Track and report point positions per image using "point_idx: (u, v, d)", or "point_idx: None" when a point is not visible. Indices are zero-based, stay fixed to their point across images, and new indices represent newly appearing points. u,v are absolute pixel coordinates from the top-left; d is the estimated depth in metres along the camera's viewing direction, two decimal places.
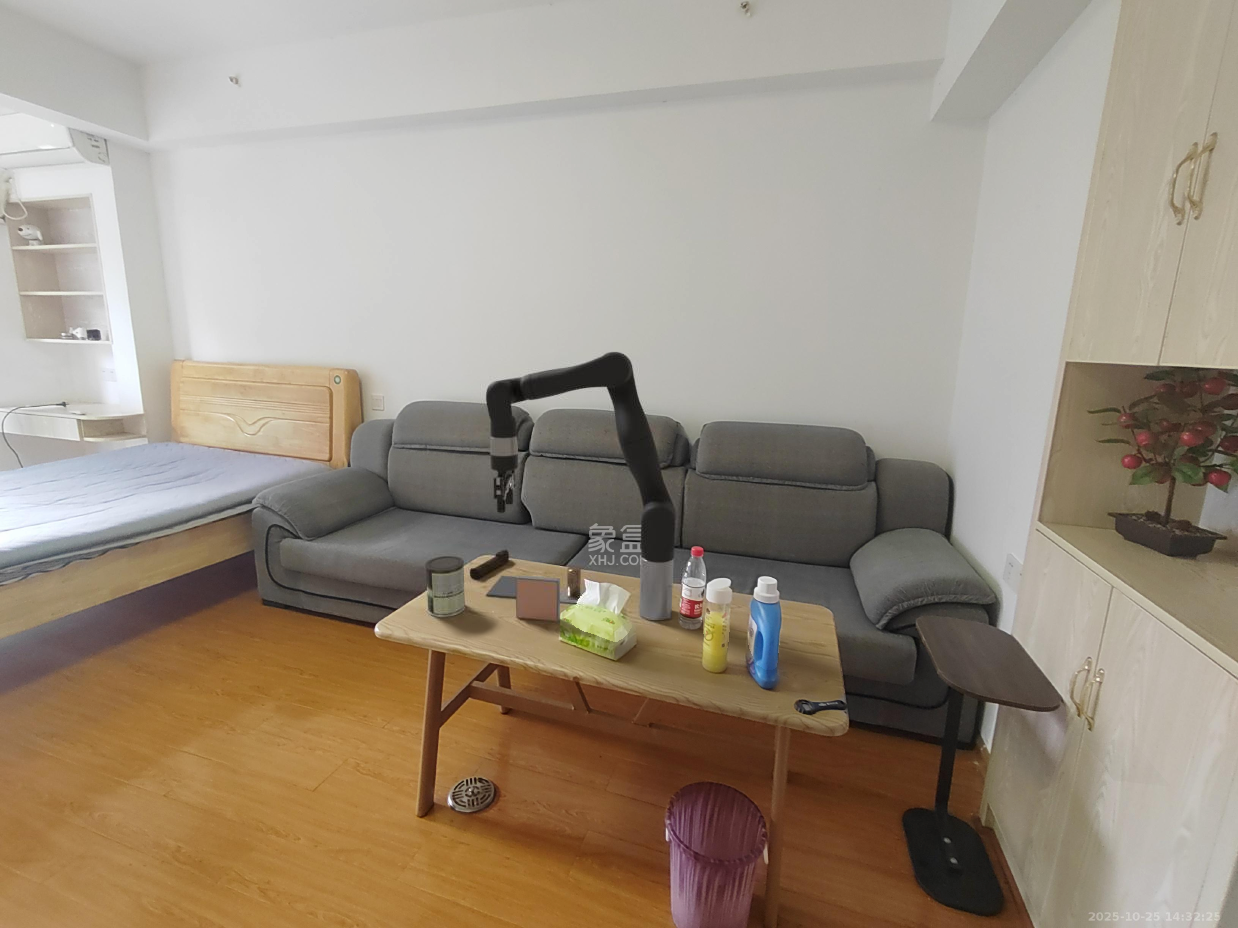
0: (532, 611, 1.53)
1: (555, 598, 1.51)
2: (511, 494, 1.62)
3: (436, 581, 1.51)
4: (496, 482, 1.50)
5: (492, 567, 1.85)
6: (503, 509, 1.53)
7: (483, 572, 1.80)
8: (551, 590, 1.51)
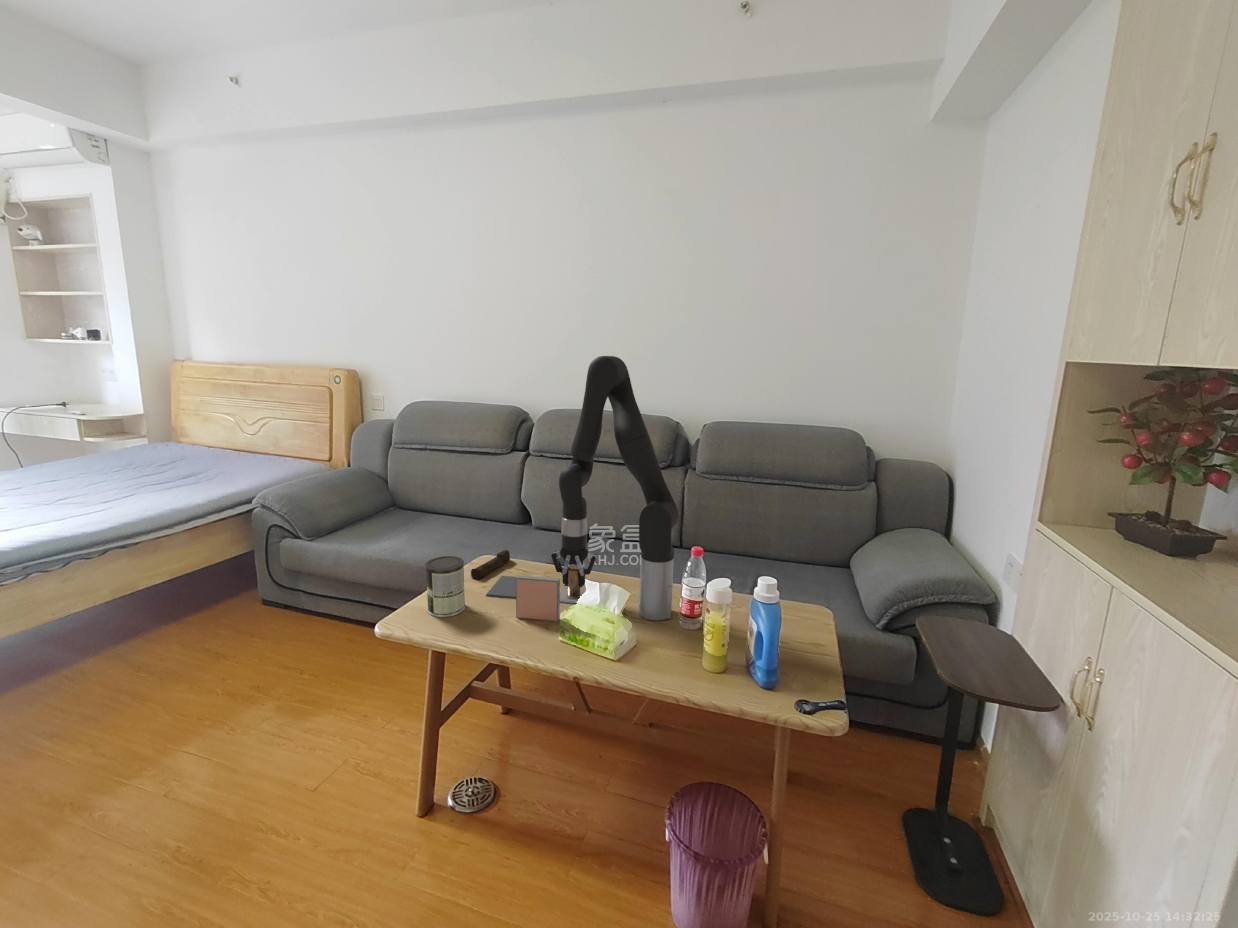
0: (532, 611, 1.53)
1: (555, 598, 1.51)
2: None
3: (436, 581, 1.51)
4: None
5: (493, 567, 1.85)
6: None
7: (484, 572, 1.80)
8: (551, 590, 1.51)
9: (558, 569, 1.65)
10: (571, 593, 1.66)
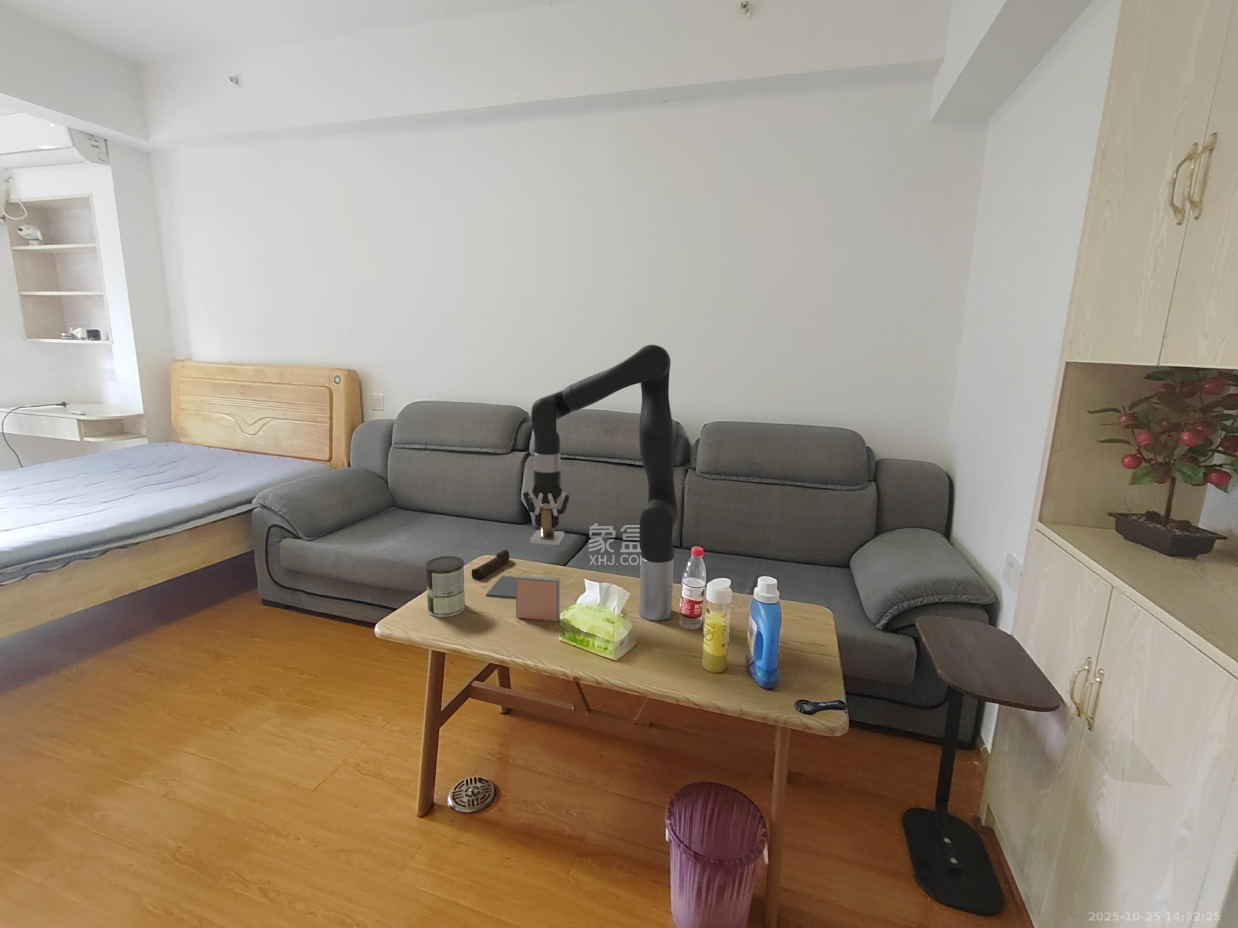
0: (532, 611, 1.53)
1: (555, 598, 1.51)
2: None
3: (436, 581, 1.51)
4: (569, 499, 1.56)
5: (493, 567, 1.85)
6: None
7: (485, 572, 1.80)
8: (551, 590, 1.51)
9: (530, 509, 1.57)
10: (544, 534, 1.58)
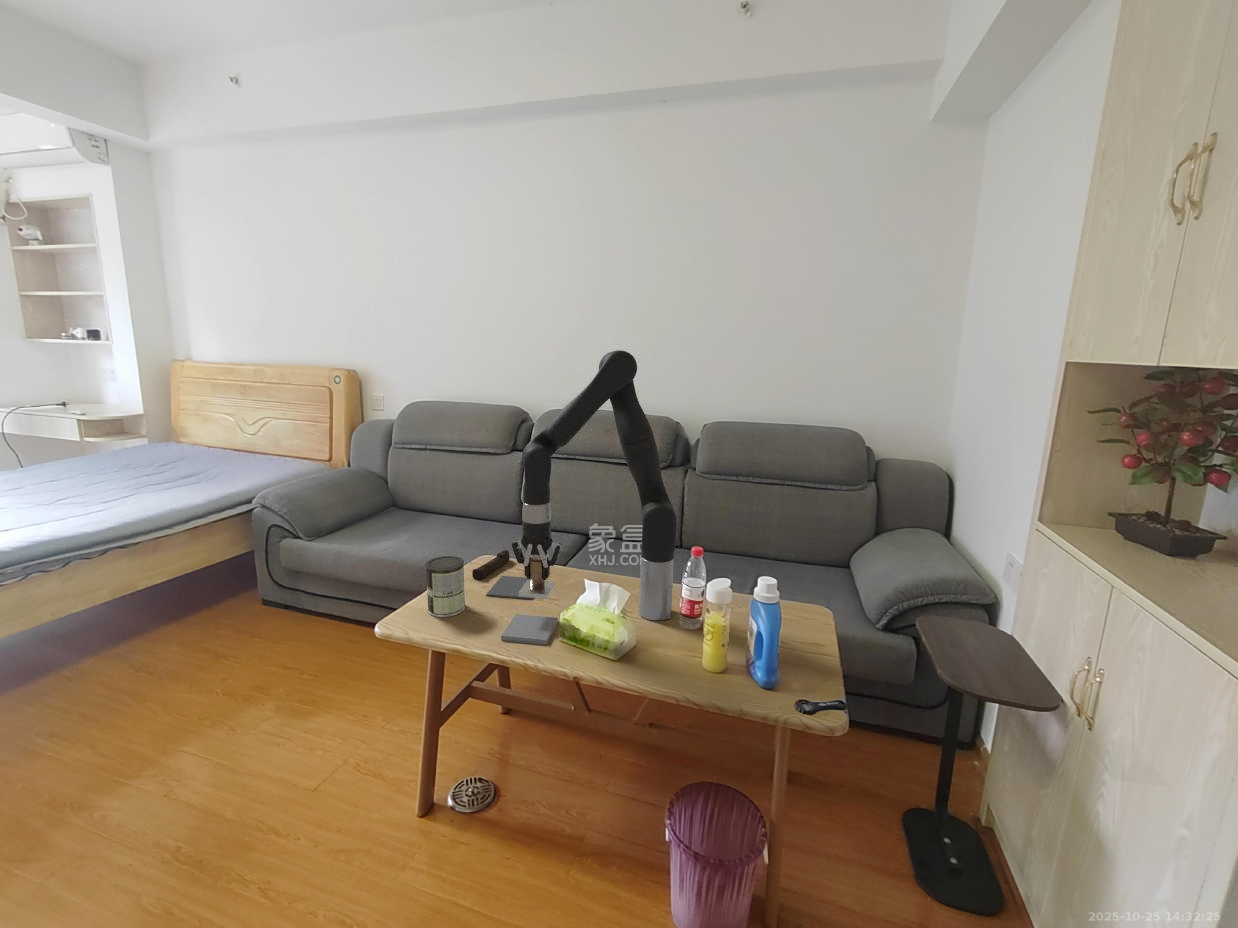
0: None
1: None
2: None
3: (436, 581, 1.51)
4: (559, 550, 1.48)
5: (494, 567, 1.84)
6: None
7: (486, 573, 1.80)
8: None
9: (519, 560, 1.50)
10: (534, 586, 1.50)
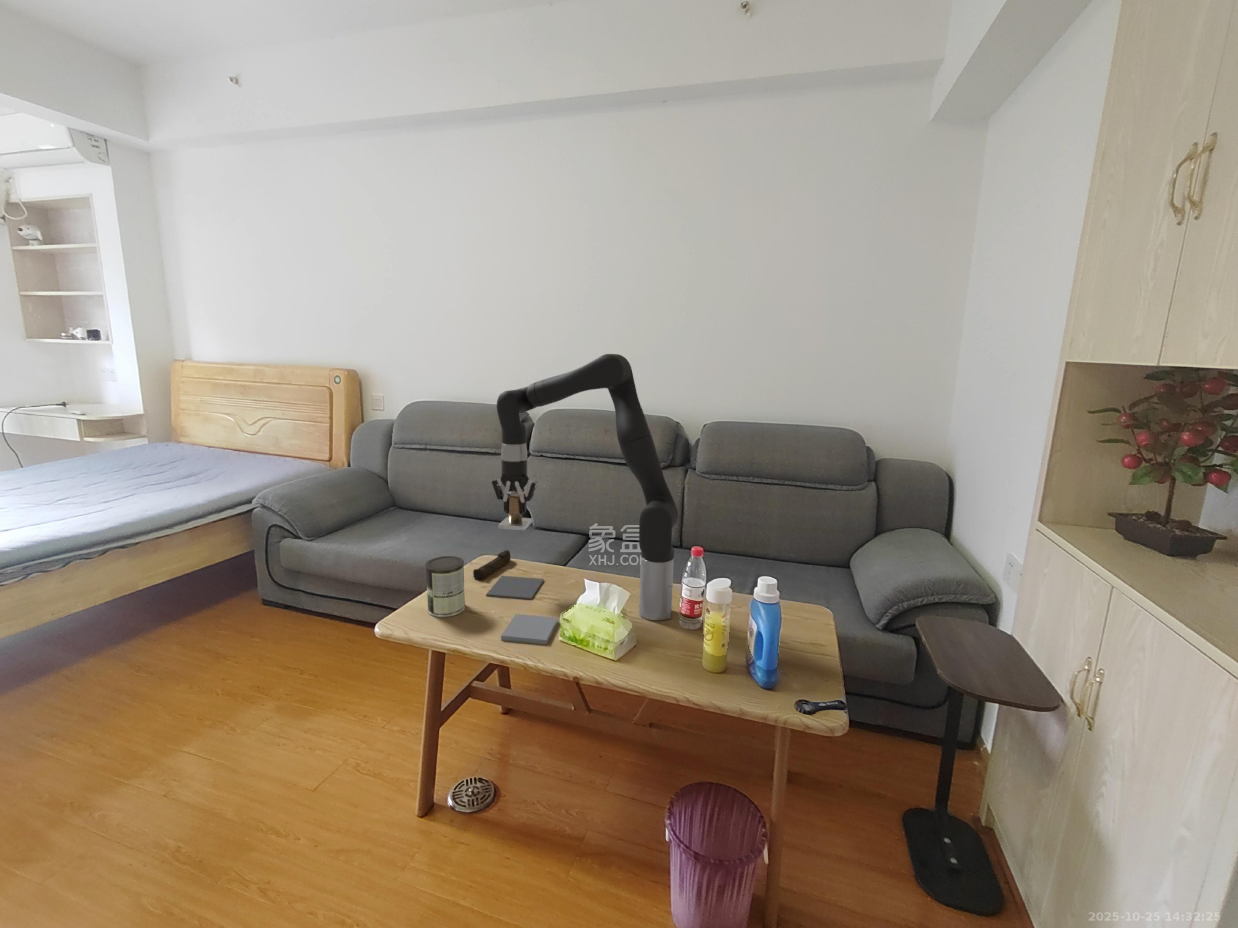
0: None
1: None
2: None
3: (436, 581, 1.51)
4: (535, 487, 1.65)
5: (495, 568, 1.84)
6: None
7: (486, 573, 1.80)
8: None
9: (499, 496, 1.66)
10: (512, 520, 1.67)
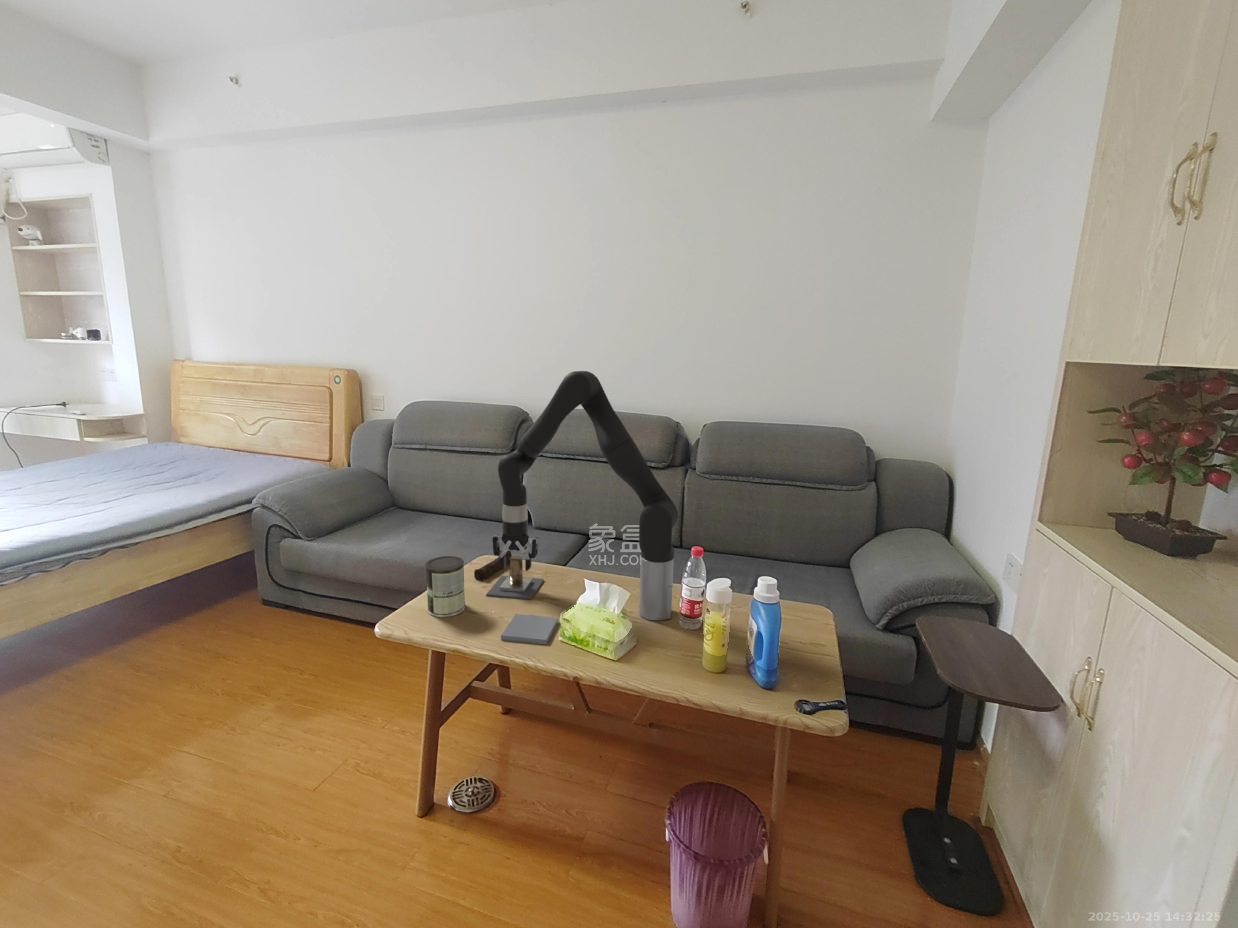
0: None
1: None
2: (505, 558, 1.72)
3: (436, 581, 1.51)
4: (536, 543, 1.69)
5: (496, 568, 1.84)
6: None
7: (487, 573, 1.80)
8: None
9: (495, 552, 1.70)
10: (513, 582, 1.71)
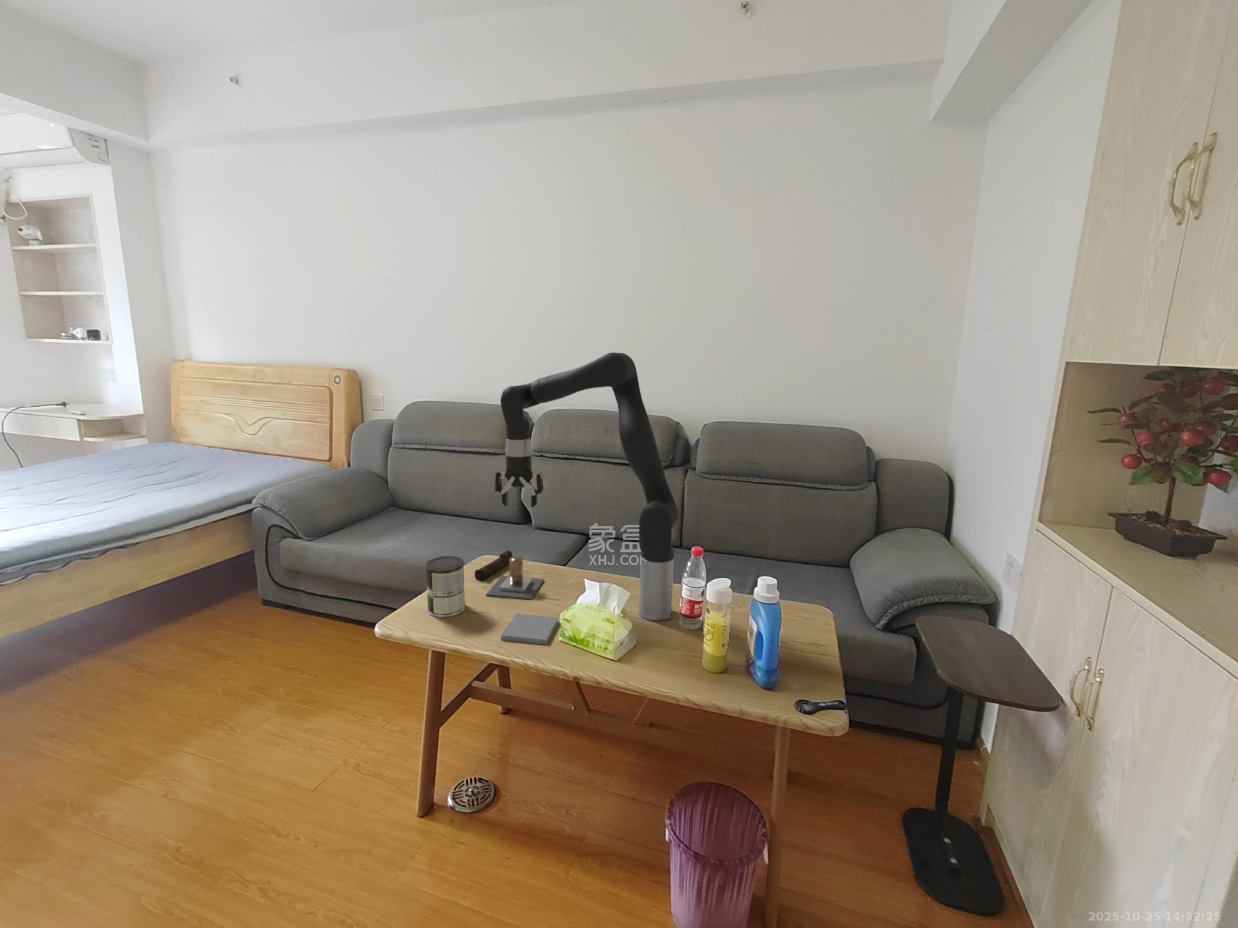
0: None
1: None
2: (507, 495, 1.69)
3: (436, 581, 1.51)
4: (541, 477, 1.65)
5: (497, 568, 1.84)
6: None
7: (488, 573, 1.80)
8: None
9: (497, 488, 1.67)
10: (513, 582, 1.71)
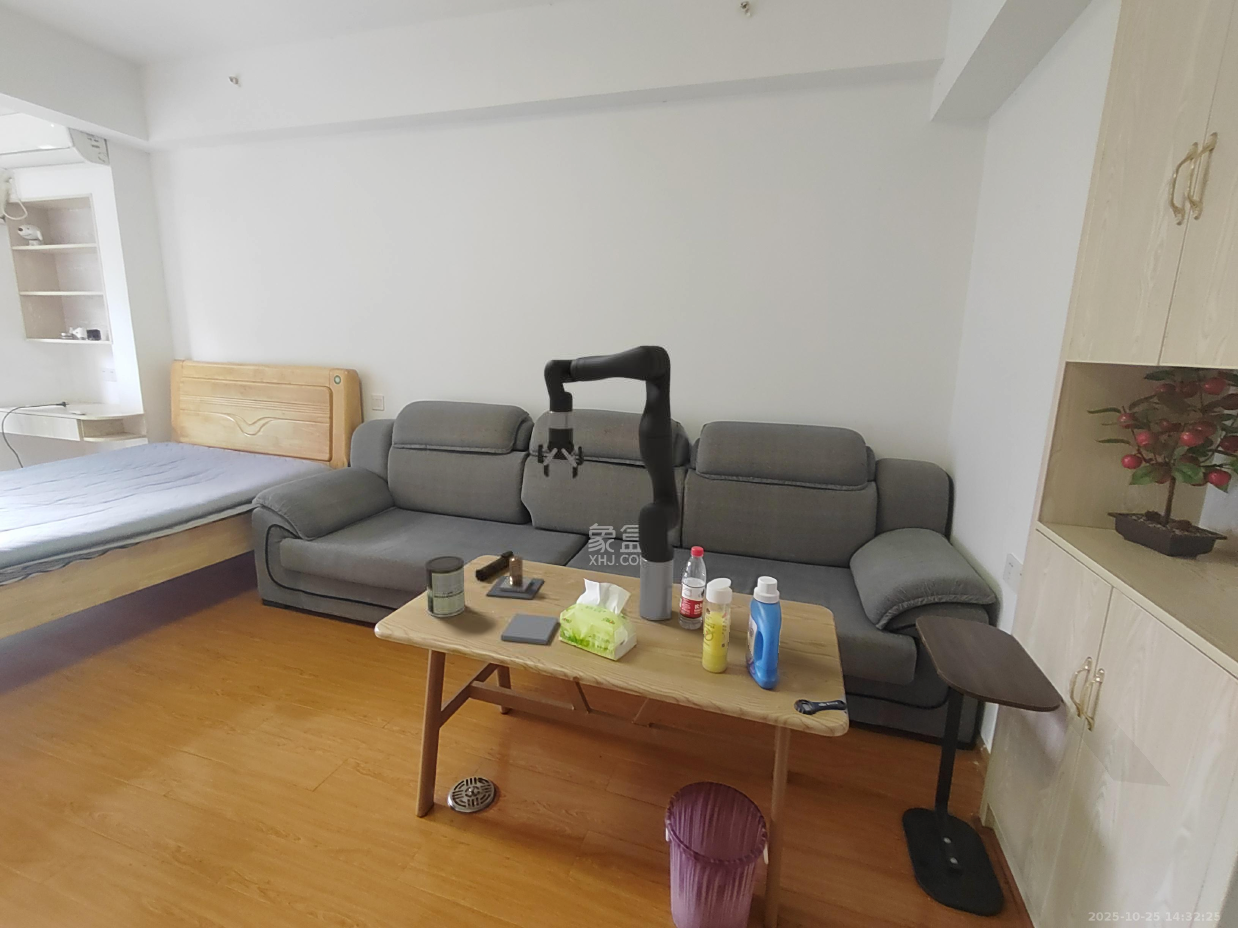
0: None
1: None
2: None
3: (436, 581, 1.51)
4: (582, 449, 1.70)
5: (497, 568, 1.84)
6: None
7: (489, 573, 1.79)
8: None
9: (539, 460, 1.72)
10: (513, 582, 1.71)
